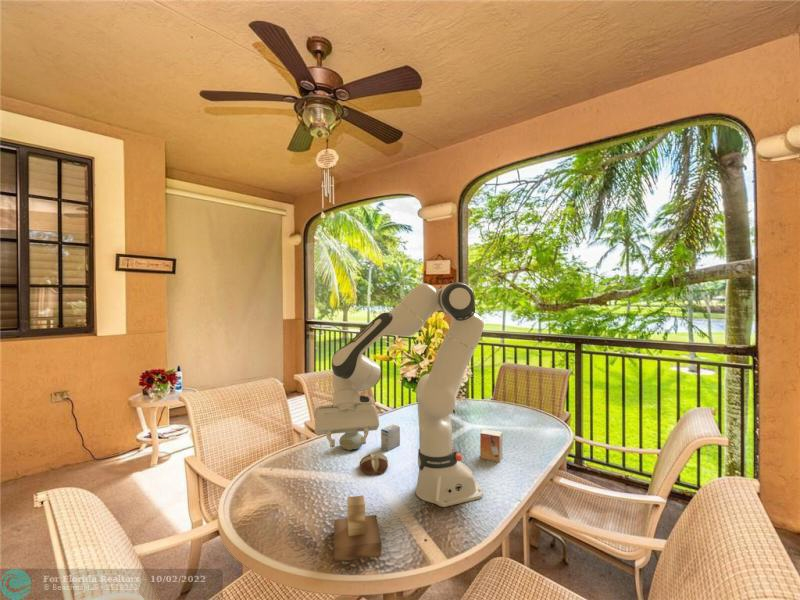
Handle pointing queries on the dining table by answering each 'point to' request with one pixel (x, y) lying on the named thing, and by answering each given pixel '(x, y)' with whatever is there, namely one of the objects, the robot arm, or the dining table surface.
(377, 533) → the walnut base block
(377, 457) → the bread
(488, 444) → the small box
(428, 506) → the dining table surface
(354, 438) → the air freshener
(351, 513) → the maple block
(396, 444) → the medicine box
